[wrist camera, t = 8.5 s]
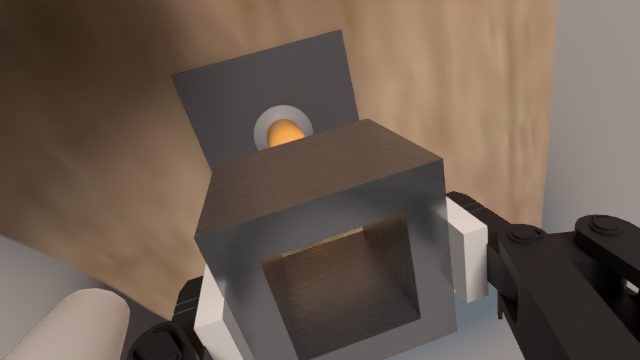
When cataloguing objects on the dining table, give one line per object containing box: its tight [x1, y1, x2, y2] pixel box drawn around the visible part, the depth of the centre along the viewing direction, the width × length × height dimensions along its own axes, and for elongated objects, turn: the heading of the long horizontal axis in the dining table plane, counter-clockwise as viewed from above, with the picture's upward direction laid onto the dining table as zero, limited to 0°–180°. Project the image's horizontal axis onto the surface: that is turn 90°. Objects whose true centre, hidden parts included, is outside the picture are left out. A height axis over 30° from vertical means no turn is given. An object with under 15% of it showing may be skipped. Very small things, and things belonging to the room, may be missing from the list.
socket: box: [194, 119, 457, 360], centre depth 13 cm, size 7×7×6 cm
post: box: [254, 105, 313, 151], centre depth 25 cm, size 5×5×8 cm
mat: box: [171, 30, 359, 173], centre depth 28 cm, size 14×14×1 cm
